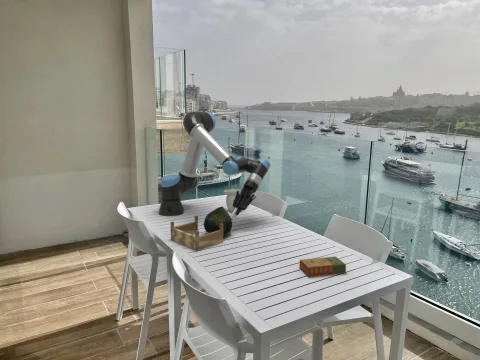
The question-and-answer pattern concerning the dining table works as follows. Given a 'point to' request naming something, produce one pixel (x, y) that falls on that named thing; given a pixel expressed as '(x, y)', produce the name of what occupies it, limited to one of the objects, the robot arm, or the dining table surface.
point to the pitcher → (230, 198)
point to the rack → (196, 242)
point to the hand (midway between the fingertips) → (231, 219)
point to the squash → (218, 221)
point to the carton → (322, 266)
